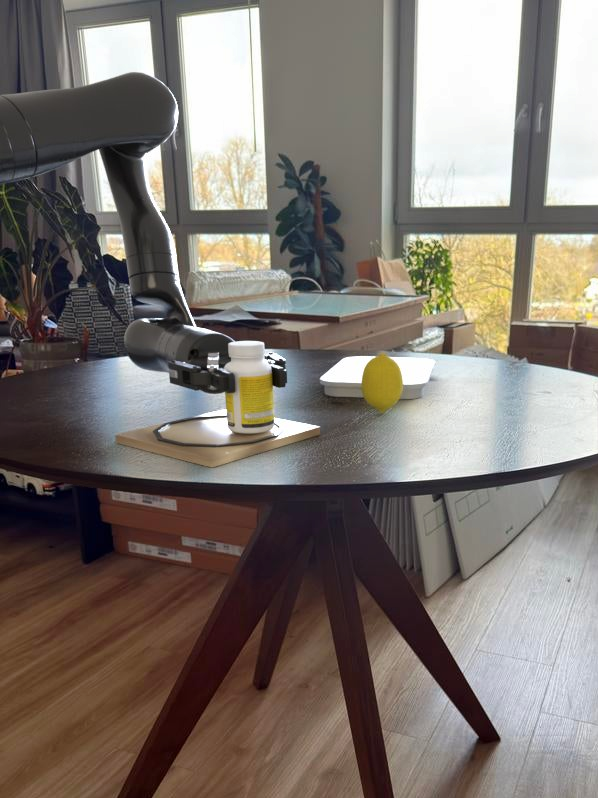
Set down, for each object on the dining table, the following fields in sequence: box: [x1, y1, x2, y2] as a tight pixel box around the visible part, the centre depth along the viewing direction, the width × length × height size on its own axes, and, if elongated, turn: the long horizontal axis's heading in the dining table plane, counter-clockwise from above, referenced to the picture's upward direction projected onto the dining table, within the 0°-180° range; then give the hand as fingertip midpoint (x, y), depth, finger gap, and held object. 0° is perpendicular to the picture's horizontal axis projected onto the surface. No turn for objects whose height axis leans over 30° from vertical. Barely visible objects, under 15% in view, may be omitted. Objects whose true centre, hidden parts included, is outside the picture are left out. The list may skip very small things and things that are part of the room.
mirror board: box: [114, 408, 321, 468], centre depth 84 cm, size 17×16×1 cm
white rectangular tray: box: [319, 355, 436, 400], centre depth 118 cm, size 16×26×2 cm, turn 173°
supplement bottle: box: [224, 340, 275, 434], centre depth 82 cm, size 5×5×10 cm
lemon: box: [361, 352, 403, 414], centre depth 96 cm, size 6×6×8 cm
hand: (257, 381), depth 80 cm, fingers closed on supplement bottle, 5 cm apart
